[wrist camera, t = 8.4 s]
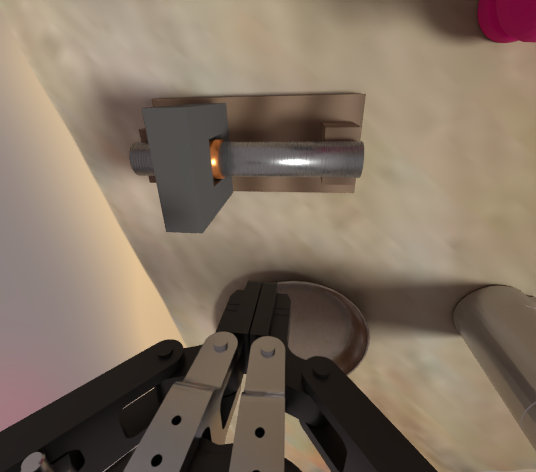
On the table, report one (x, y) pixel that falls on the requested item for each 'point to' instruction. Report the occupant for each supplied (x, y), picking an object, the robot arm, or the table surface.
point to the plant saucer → (325, 324)
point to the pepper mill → (508, 20)
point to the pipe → (271, 159)
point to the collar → (187, 163)
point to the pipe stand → (287, 131)
